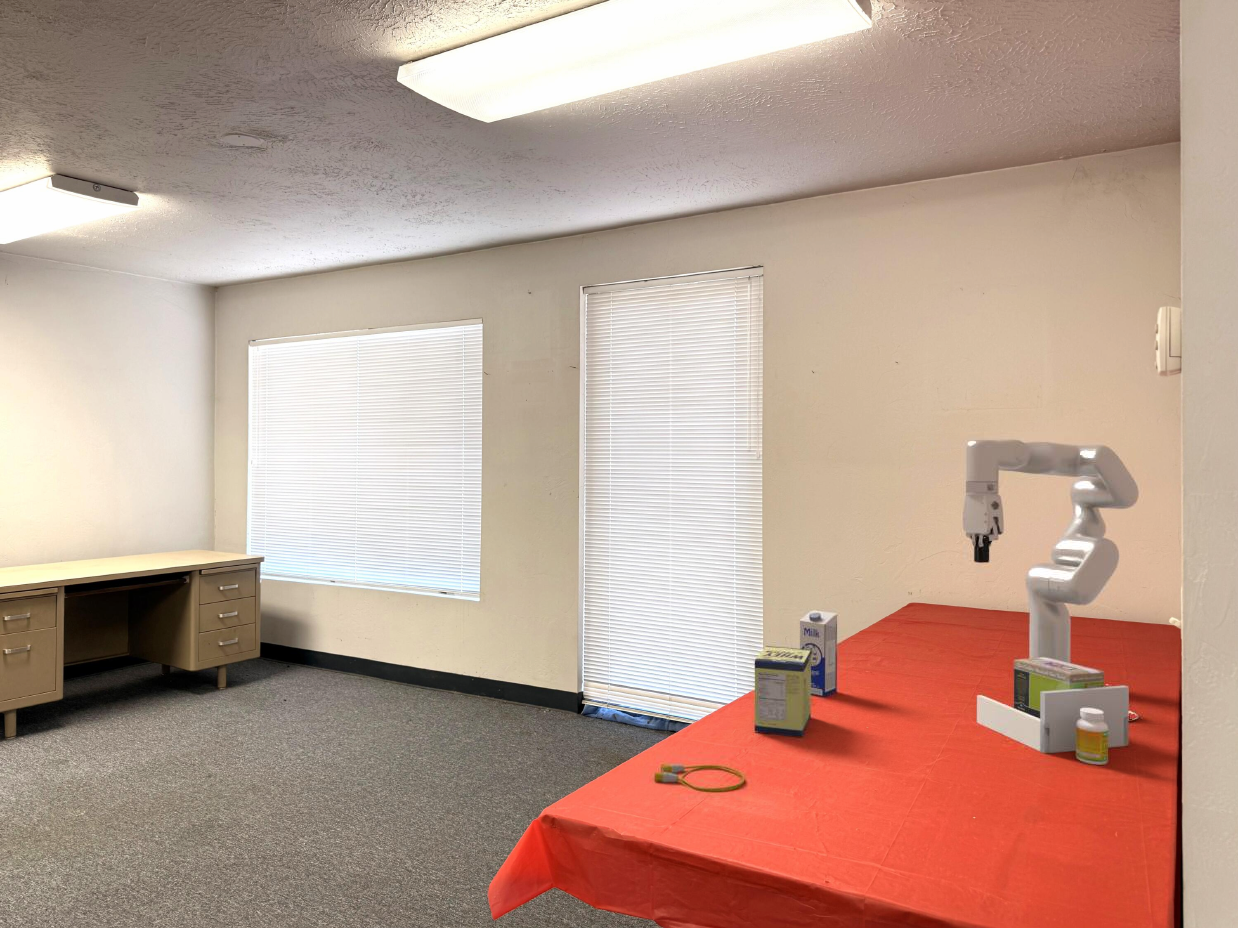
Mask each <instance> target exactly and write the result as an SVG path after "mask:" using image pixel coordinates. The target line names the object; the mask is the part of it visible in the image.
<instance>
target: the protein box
mask: <svg viewBox="0 0 1238 928" xmlns="http://www.w3.org/2000/svg"><path fill="white" fill-rule="evenodd" d="M811 698H812V695H811V650H810V649H800V648H794V647H783V646H772V645H765V647H764V648H763V649H762V651H761V652H760V653H759V655H758V656H757V657H756V658H755V660H754V731H758V732H757V733H759V732H763V733H762V734H768V733H773V734H772V735H779V736H786V737H795V738H796V737H797V738H803V737H804V735H805V732H806V730H807V727H808V724H809V723H810V720H811V713H812V711H811V710H812V707H811V706H812V699H811Z"/></svg>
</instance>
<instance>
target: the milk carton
mask: <svg viewBox="0 0 1238 928" xmlns="http://www.w3.org/2000/svg"><path fill="white" fill-rule="evenodd" d="M798 621H799V649H810V650H811V696H816V695H817V697H821V698H825V697H827V695H828V696H830V695H833V694H835V693H837V691H838V686H837V685H838V613H836V612H830V611H821V610H815V609H813V610H811V611H809V612H807V613H806V615H804V616H803V617H802V618H800V619H799V620H798ZM832 693H833V694H832Z"/></svg>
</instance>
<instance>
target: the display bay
mask: <svg viewBox="0 0 1238 928" xmlns="http://www.w3.org/2000/svg"><path fill="white" fill-rule="evenodd" d="M1129 694H1130V688H1129V686H1128V685H1127V686H1126V685H1115V686H1114V685H1113V686H1104V687H1097V688H1083V689H1069V690H1055V691H1041V692H1040V719H1039V718H1036V717H1034V716H1032V715H1029V714H1027V713H1024V712H1022V711H1019V710H1017V709H1014V707H1012V706H1009V705H1007V704H1004V703H1002V702H1000V701H997V700H995V699H992V698H989V697H988V696H985V695H979V694H978V695H976V723H977V724H979V725H981V726H982V727H983V726H984V727H986V728H988V729H990V730H993V731H994V732H996V733H999V734H1002V735H1004V736H1006V737H1007V738H1010V739H1012V740H1014V741H1017V742H1019V743H1021V744H1023V745H1025V746H1027V747H1029V748H1031V749H1034V750H1036V751H1038V752H1041V753H1043V754H1053V753H1064V752H1076V722H1077V721H1078V720H1079V719H1082V717H1081V716H1080V709H1081V708H1094V709H1098V710H1101V711H1103V712H1104V720H1102V721H1103V722H1104V723H1106V724H1107V726H1108V748H1117V747H1118V748H1119V747H1126V746H1128V747H1129V740H1130V739H1129V738H1130V737H1129V735H1130V734H1129V732H1130V731H1129V721H1130V720H1129V711H1130V706H1129V705H1130V704H1129V702H1130V701H1129V700H1130V698H1129V697H1130V695H1129Z"/></svg>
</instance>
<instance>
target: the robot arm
mask: <svg viewBox="0 0 1238 928" xmlns="http://www.w3.org/2000/svg"><path fill="white" fill-rule="evenodd" d="M1000 471H1002V472H1003V471H1005V472H1016V473H1024V474H1032V475H1045V476H1046V475H1047V476H1059V477H1066V478H1077V479H1075V480H1074V481H1073V482H1072V484H1071V487H1070V490H1069V491H1070V492H1069V496H1070V500H1071V506H1072V515H1073V516H1072V519H1071V521H1070V523H1069V525H1067V527H1066V529H1065V530H1064V531H1063V533H1062V534H1061V536H1060V537H1058V540H1057V541H1056V542H1055V544H1054V546H1053V548H1052V550H1051V554H1050V557H1051V560H1052V563H1050V562H1049V563H1046V562H1043V563H1037V564H1034V565H1032V566H1031V567H1030V568H1029V569H1028V570H1027V572H1026V574H1025V578H1024V579H1025V580H1024V581H1025V587H1026V594H1027V598H1028V605H1029V642H1028V644H1029V649H1028V650H1029V653H1028V654H1029V658H1028V659H1030V658H1042V657H1048V658H1052V659H1056V660H1060V661H1064V662H1068V663H1071V622H1072V621H1071V616H1070V612H1069V609H1068V608H1067V606H1066V604H1069V605H1076V606H1087V605H1090V604H1091V603H1093V602H1094V601H1095V599H1097V598H1098V596H1099V595H1100V594H1101V592H1102V591H1103V589H1104V587H1105V586H1106V585H1107V584H1108V582H1109V580H1110V579H1111V577H1112V576H1113V574H1114V573H1115V571H1117V568H1118V565H1119V559H1120V551H1119V548H1118V546H1117V544H1116V543H1115V542H1114V541H1112V539H1110V538H1106V537H1104V536H1105V534H1106V531H1107V527H1106V524H1105V523H1106V522H1105V520H1104V518H1103V517H1102V514H1101V512H1100V509H1113V510H1126V509H1129V508H1132V507H1133V506H1134V505H1135V504H1136V503H1137V501H1138V500H1139V487H1138V485H1137V482H1136V481H1135V479H1134V477H1133V476H1132V474H1131V472H1130V471H1129V470H1128V467H1126V465H1125V464H1124V462H1123V461H1122V459H1121V457H1119V455H1118V454H1117V453H1116V452H1115V451H1114V450H1113V449H1111V448H1110V447H1109V446H1107V445H1104V444H1103V445H1102V444H1093V445H1092V444H1091V445H1090V444H1089V445H1088V444H1087V445H1078V444H1076V445H1075V444H1067V443H1056V442H1049V441H1044V442H1043V441H1031V442H1030V441H1029V442H1024V441H1021V440H1019V439H1013V438H1011V439H972V440H969V441H968V442H967V443H966V445H965V496H964V501H963V502H964V503H963V509H962V510H963V511H962V528H963V530H964V532H965V536H966V537H967V538H969V539H971V542H972V543H971V544H972V546H973V562H974V563H979V564H983V563H986V564H987V563H990V548H991V546H992V542H994V541H998V540H999V535H1002V534H1004V531H1005V527H1004V524H1005V523H1004V522H1005V520H1004V508H1003V501H1002V497H1001V495H1000V494H999V485H1000V483H999V482H1000V481H999V478H1000V477H999V475H1000Z"/></svg>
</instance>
